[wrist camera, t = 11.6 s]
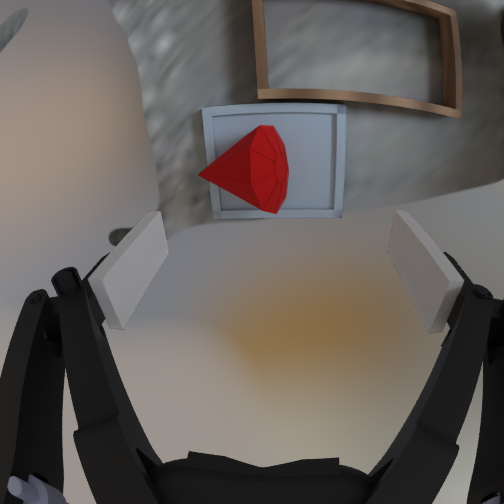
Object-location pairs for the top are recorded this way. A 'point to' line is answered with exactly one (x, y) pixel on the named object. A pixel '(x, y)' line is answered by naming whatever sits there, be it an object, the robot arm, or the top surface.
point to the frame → (451, 93)
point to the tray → (297, 150)
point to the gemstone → (254, 169)
